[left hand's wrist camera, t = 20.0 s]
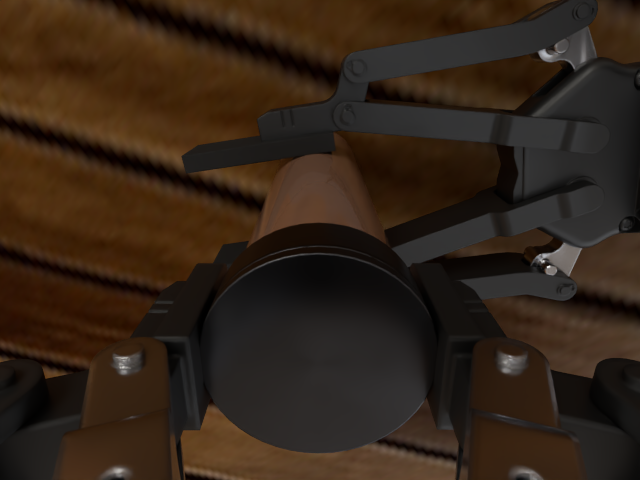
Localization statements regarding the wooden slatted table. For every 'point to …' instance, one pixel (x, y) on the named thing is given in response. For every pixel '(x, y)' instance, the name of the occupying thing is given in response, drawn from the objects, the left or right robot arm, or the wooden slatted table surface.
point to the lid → (318, 340)
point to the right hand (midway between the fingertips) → (207, 212)
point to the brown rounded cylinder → (319, 194)
